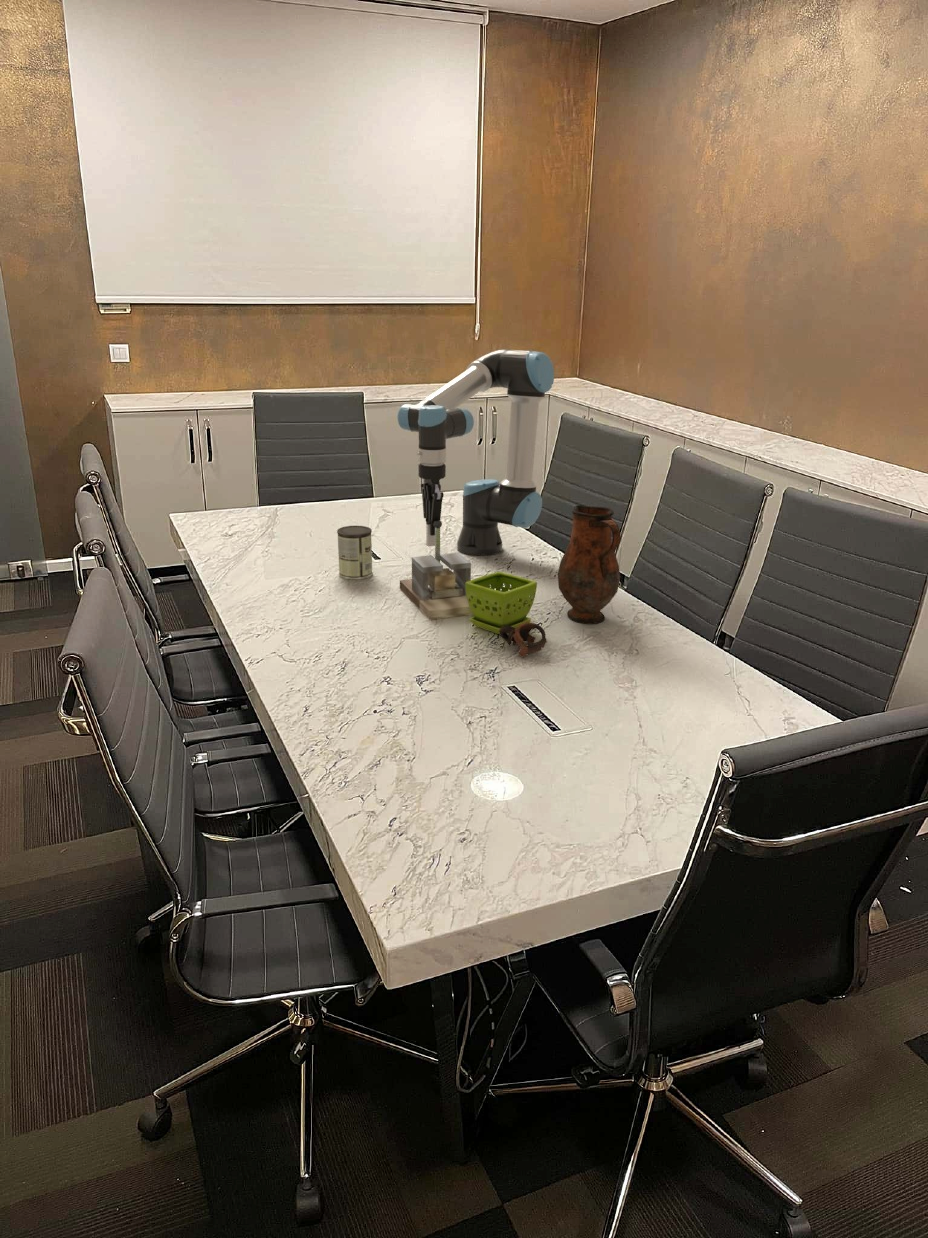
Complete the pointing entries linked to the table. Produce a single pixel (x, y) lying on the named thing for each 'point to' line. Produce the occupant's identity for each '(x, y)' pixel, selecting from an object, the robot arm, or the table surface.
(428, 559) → the bench vise
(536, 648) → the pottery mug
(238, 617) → the table surface
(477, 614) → the flower pot
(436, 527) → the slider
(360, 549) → the coffee can
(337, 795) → the table surface
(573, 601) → the pitcher
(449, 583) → the block
